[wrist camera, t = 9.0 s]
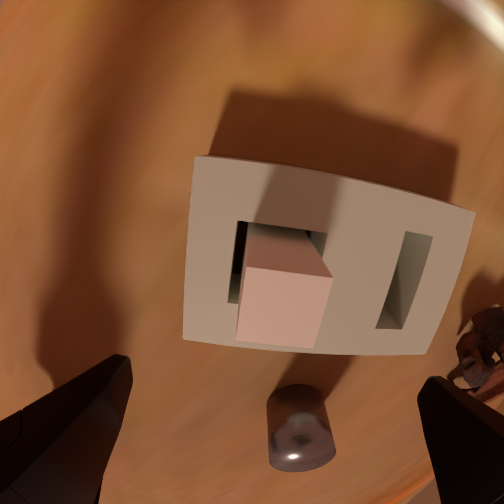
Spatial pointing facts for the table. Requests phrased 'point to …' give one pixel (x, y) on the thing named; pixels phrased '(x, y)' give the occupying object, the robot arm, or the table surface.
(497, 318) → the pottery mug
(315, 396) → the round dowel
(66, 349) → the table surface
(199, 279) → the socket block
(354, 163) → the table surface
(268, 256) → the square peg
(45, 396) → the robot arm
